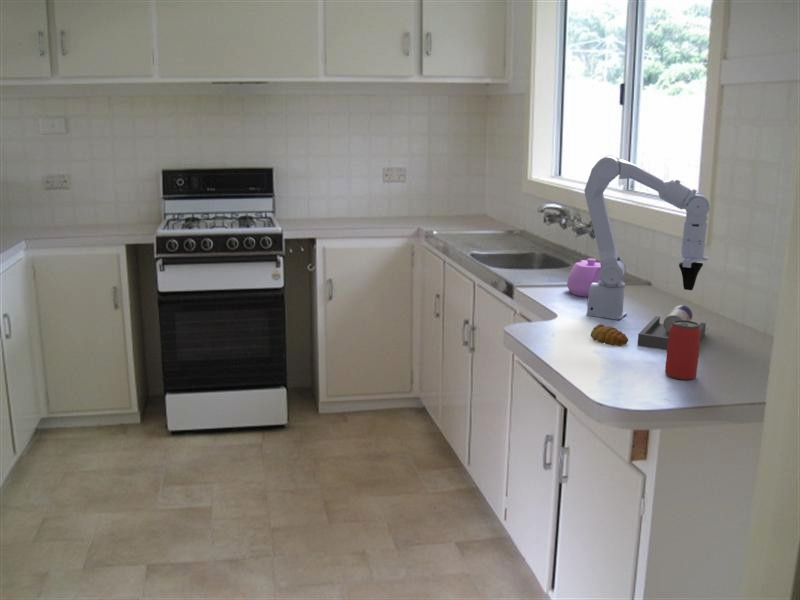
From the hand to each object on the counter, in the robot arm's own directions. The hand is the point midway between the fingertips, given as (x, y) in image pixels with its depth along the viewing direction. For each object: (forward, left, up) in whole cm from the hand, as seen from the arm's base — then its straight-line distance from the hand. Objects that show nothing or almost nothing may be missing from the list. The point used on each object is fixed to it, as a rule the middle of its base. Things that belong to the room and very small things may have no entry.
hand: (688, 289), depth 222 cm
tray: (0, -18, -9) cm, 20 cm away
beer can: (+7, -47, -10) cm, 49 cm away
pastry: (-13, -28, -10) cm, 33 cm away
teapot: (-32, +20, -10) cm, 39 cm away
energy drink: (0, -6, -6) cm, 8 cm away
